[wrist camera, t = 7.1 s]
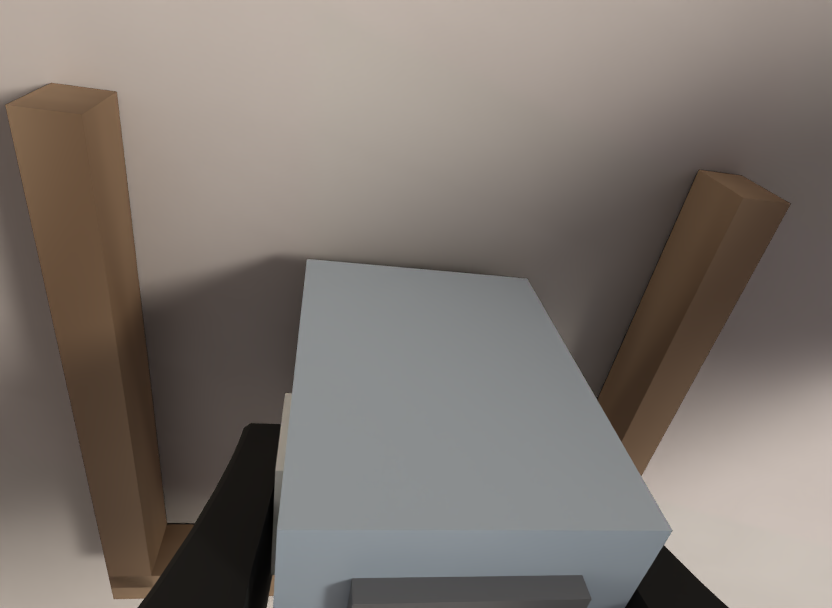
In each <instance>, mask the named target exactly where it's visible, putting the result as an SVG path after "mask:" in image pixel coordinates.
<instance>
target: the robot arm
mask: <svg viewBox="0 0 832 608" xmlns="http://www.w3.org/2000/svg"><path fill="white" fill-rule="evenodd" d="M280 429H281V424H257V423H251V424H249V425H248V426H246V427H245V428H244V430H243V432H242V435H241V438H240V440H239V443H238V445H237V447H236V449H235V452H234V454H233V456H232V458H231V460H230V462H229V464H228V466H227V468H226V470H225V472H224V474H223V476H222V477H221V479H220V481H219V483H218V485H217V487H216V489H215V490H214V492H213V494H212V495H211V497H210V499H209V501H208V502H207V504H206V506H205V507H204V509H203V511H202V512H201V514H200V516H199V517H198V519H197V521H196V522H195V524H194V526H193V527H192V529H191V531H190V532H189V534H188V535H187V537H186V538H185V540H184V541H183V543H182V544H181V546H180V547H179V549H178V550H177V552H176V553H175V555H174V556H173V558H172V559H171V561H170V562H169V564H168V565H167V567H166V568H165V570H164V571H163V573H162V574H161V576H160V577H159V579H158V580H157V582H156V583H155V584H154V586H153V587H152V589H151V590H150V591H149V593H148V594H147V596H146V597H145V598H144V600H143V601H142V603H141V604H140V605H139V607H138V608H266V607H267V602H268V597H269V592H270V586H271V581H272V576H273V575H271V558H272V535H273V512H274V489H275V469H276V461H277V453H278V445H279V437H280ZM625 608H729V607H727V606H726V605H725V604H724V603H723V602H722V601H721V600H720V599H718V598H717V597H716V596H715V595H714V594H713V593H712V592H711V591H710V590H709V589H708V588H707V587H706V586H705V585H703V584H702V583H701V582H700V581H699V580H698V579H697V578H696V577H695V576H694V575H693V574H692V573H691V572H690V571H689V570H688V569H687V568H686V567H685V566H684V565H683V564H682V563H681V562H680V561H679V560H678V559H677V558H676V557H675V556H674V555H673V554H672V553H671V552H670V551H669V550H668V549H667V548H666V547H665V546H664V545H663V547H662V548H661V550H660V552H659V553H658V555H657V557H656V558H655V560H654V561H653V563H652V565H651V566H650V568H649V569H648V571H647V573H646V574H645V576H644V577H643V579H642V581H641V582H640V584H639V586H638V587H637V589H636V590H635V592H634V594H633V595H632V597H631V598H630V600H629V602H628V603H627V605H626V606H625Z"/></svg>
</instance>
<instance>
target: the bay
mask: <svg viewBox="0 0 832 608" xmlns="http://www.w3.org/2000/svg"><path fill="white" fill-rule="evenodd" d="M5 106H6V111H7V116H8V120H9V125H10V129H11V134H12V138H13V143H14V147H15V152H16V157H17V161H18V166H19V170H20V175H21V179H22V184H23V188H24V193H25V197H26V202H27V207H28V211H29V216H30V220H31V225H32V229H33V234H34V238H35V243H36V248H37V252H38V257H39V261H40V266H41V270H42V275H43V279H44V284H45V289H46V293H47V298H48V302H49V307H50V311H51V316H52V320H53V325H54V330H55V334H56V339H57V343H58V348H59V352H60V357H61V361H62V366H63V371H64V375H65V380H66V384H67V389H68V393H69V398H70V402H71V407H72V412H73V416H74V421H75V425H76V430H77V434H78V439H79V443H80V448H81V453H82V457H83V462H84V466H85V471H86V475H87V480H88V484H89V489H90V493H91V498H92V503H93V507H94V512H95V516H96V521H97V525H98V530H99V534H100V539H101V544H102V548H103V553H104V557H105V562H106V566H107V571H108V575H109V580H110V585H111V589H112V594H113V598H114V599H140V598H145V597H146V596H147V594H148V593H149V591H150V590H151V589H152V587H153V586H154V584H155V583H156V582H157V580H158V579H159V577H160V576H161V574H162V573H163V571H164V570H165V568H166V567H167V565H168V564H169V562H170V561H171V559H172V558H173V556H174V555H175V553H176V552H177V550H178V549H179V547H180V546H181V544H182V543H183V541H184V540H185V538H186V537H187V535H188V534H189V532H190V531H191V529H192V527H193V526H194V525H191V524H167V521H166V512H165V503H164V495H163V486H162V478H161V469H160V460H159V452H158V443H157V435H156V426H155V417H154V409H153V400H152V391H151V383H150V374H149V366H148V357H147V348H146V340H145V331H144V323H143V314H142V305H141V297H140V288H139V279H138V271H137V262H136V254H135V245H134V236H133V228H132V219H131V211H130V202H129V193H128V185H127V176H126V168H125V159H124V150H123V142H122V133H121V124H120V116H119V107H118V99H117V92H115V91H108V90H100V89H93V88H85V87H78V86H70V85H63V84H55V83H50V84H48V85H46V86H44V87H42V88H40V89H37V90H35V91H33V92H31V93H29V94H27V95H25V96H23V97H21V98H19V99H16V100H14V101H12V102H10V103H8V104H6V105H5ZM789 206H790V203H789V202H787V201H785V200H784V199H782V198H780V197H778V196H777V195H775V194H773V193H771V192H770V191H768V190H766V189H764V188H763V187H761V186H759V185H757V184H756V183H754V182H752V181H751V180H749V179H747V178H745V177H744V176H742V175H734V174H727V173H719V172H712V171H704V170H699V171H698V173H697V175H696V178H695V180H694V182H693V184H692V187H691V189H690V191H689V193H688V196H687V198H686V200H685V202H684V205H683V207H682V209H681V211H680V214H679V216H678V218H677V221H676V223H675V225H674V227H673V230H672V232H671V234H670V236H669V239H668V241H667V243H666V245H665V248H664V250H663V252H662V255H661V257H660V259H659V261H658V264H657V266H656V268H655V270H654V273H653V275H652V277H651V279H650V282H649V284H648V286H647V288H646V291H645V293H644V295H643V298H642V300H641V302H640V304H639V307H638V309H637V311H636V313H635V316H634V318H633V320H632V322H631V325H630V327H629V329H628V331H627V334H626V336H625V338H624V341H623V343H622V345H621V347H620V350H619V352H618V354H617V356H616V359H615V361H614V363H613V365H612V368H611V370H610V372H609V375H608V377H607V379H606V381H605V384H604V386H603V388H602V390H601V393H600V395H599V397H598V399H597V401H598V402H599V404H600V406H601V407H602V409H603V411H604V413H605V414H606V416H607V418H608V420H609V421H610V423H611V425H612V427H613V428H614V430H615V432H616V433H617V435H618V437H619V439H620V440H621V442H622V444H623V446H624V447H625V449H626V451H627V453H628V454H629V456H630V458H631V460H632V461H633V463H634V465H635V466H636V468H637V470H638V472H639V473H640V475H641V476H642V474H643V472H644V470H645V468H646V467H647V465H648V463H649V461H650V459H651V457H652V456H653V454H654V452H655V450H656V448H657V446H658V445H659V443H660V441H661V439H662V437H663V436H664V434H665V432H666V430H667V428H668V426H669V425H670V423H671V421H672V419H673V417H674V416H675V414H676V412H677V410H678V408H679V406H680V405H681V403H682V401H683V399H684V397H685V396H686V394H687V392H688V390H689V388H690V386H691V385H692V383H693V381H694V379H695V377H696V375H697V374H698V372H699V370H700V368H701V366H702V365H703V363H704V361H705V359H706V357H707V355H708V354H709V352H710V350H711V348H712V346H713V345H714V343H715V341H716V339H717V337H718V335H719V334H720V332H721V330H722V328H723V326H724V324H725V323H726V321H727V319H728V317H729V315H730V314H731V312H732V310H733V308H734V306H735V304H736V303H737V301H738V299H739V297H740V295H741V294H742V292H743V290H744V288H745V286H746V284H747V283H748V281H749V279H750V277H751V275H752V274H753V272H754V270H755V268H756V266H757V264H758V263H759V261H760V259H761V257H762V255H763V253H764V252H765V250H766V248H767V246H768V244H769V243H770V241H771V239H772V237H773V235H774V233H775V232H776V230H777V228H778V226H779V224H780V223H781V221H782V219H783V217H784V215H785V213H786V212H787V210H788V208H789ZM274 581H275V575H273V576H272V581H271V586H270V592H269V596H274Z"/></svg>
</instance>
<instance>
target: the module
mask: <svg viewBox="0 0 832 608" xmlns="http://www.w3.org/2000/svg"><path fill="white" fill-rule="evenodd" d="M671 532H672V529H671V527H670V525H669V524H668V522H667V520H666V519H665V517H664V515H663V513H662V512H661V510H660V508H659V506H658V505H657V503H656V501H655V499H654V498H653V496H652V494H651V492H650V491H649V489H648V487H647V486H646V484H645V482H644V480H643V479H642V477H641V475H640V473H639V472H638V470H637V468H636V466H635V465H634V463H633V461H632V460H631V458H630V456H629V454H628V453H627V451H626V449H625V447H624V446H623V444H622V442H621V440H620V439H619V437H618V435H617V433H616V432H615V430H614V428H613V427H612V425H611V423H610V421H609V420H608V418H607V416H606V414H605V413H604V411H603V409H602V407H601V406H600V404H599V402H598V401H597V399H596V397H595V395H594V394H593V392H592V390H591V388H590V387H589V385H588V383H587V381H586V380H585V378H584V376H583V375H582V373H581V371H580V369H579V368H578V366H577V364H576V362H575V361H574V359H573V357H572V355H571V354H570V352H569V350H568V348H567V347H566V345H565V343H564V342H563V340H562V338H561V336H560V335H559V333H558V331H557V329H556V328H555V326H554V324H553V322H552V321H551V319H550V317H549V316H548V314H547V312H546V310H545V309H544V307H543V305H542V303H541V302H540V300H539V298H538V296H537V295H536V293H535V291H534V289H533V288H532V286H531V284H530V283H529V281H528V279H527V278H516V277H505V276H493V275H482V274H471V273H460V272H448V271H437V270H426V269H415V268H404V267H392V266H381V265H370V264H359V263H347V262H336V261H325V260H314V259H307V263H306V272H305V281H304V290H303V299H302V308H301V317H300V326H299V335H298V344H297V353H296V362H295V371H294V381H293V390H292V393H285V398H284V406H283V414H282V421H281V429H280V437H279V445H278V453H277V461H276V469H275V489H274V512H273V535H272V558H271V575H275V581H274V601H273V608H625V606H626V605H627V603H628V602H629V600H630V598H631V597H632V595H633V594H634V592H635V590H636V589H637V587H638V586H639V584H640V582H641V581H642V579H643V577H644V576H645V574H646V573H647V571H648V569H649V568H650V566H651V565H652V563H653V561H654V560H655V558H656V557H657V555H658V553H659V552H660V550H661V548H662V547H663V545H664V544H665V542H666V540H667V539H668V537H669V536H670V534H671Z"/></svg>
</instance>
